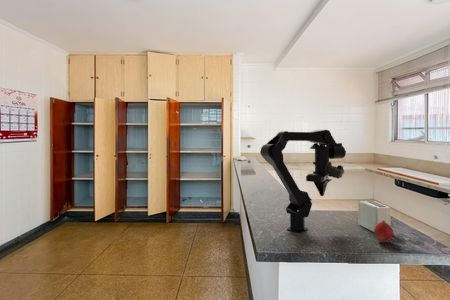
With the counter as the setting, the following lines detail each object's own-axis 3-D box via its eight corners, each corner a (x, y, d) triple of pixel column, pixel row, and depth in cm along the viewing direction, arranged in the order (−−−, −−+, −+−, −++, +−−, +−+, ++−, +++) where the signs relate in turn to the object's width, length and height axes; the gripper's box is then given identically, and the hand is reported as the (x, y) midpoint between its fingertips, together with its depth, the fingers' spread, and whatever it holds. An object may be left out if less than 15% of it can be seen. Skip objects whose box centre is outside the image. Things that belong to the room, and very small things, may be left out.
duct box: (377, 233, 104) (377, 207, 104) (363, 224, 115) (363, 200, 115) (390, 232, 104) (390, 206, 104) (374, 223, 115) (374, 200, 115)
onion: (370, 239, 98) (370, 218, 98) (385, 238, 98) (385, 217, 98) (381, 245, 92) (381, 222, 92) (397, 244, 92) (397, 222, 92)
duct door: (373, 231, 105) (373, 206, 104) (358, 224, 115) (358, 201, 114) (376, 231, 105) (376, 206, 104) (360, 223, 115) (360, 201, 114)
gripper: (333, 161, 101) (333, 202, 101) (348, 158, 114) (349, 194, 115) (305, 160, 108) (305, 198, 109) (323, 157, 122) (323, 191, 122)
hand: (322, 195), depth 113 cm, fingers closed
